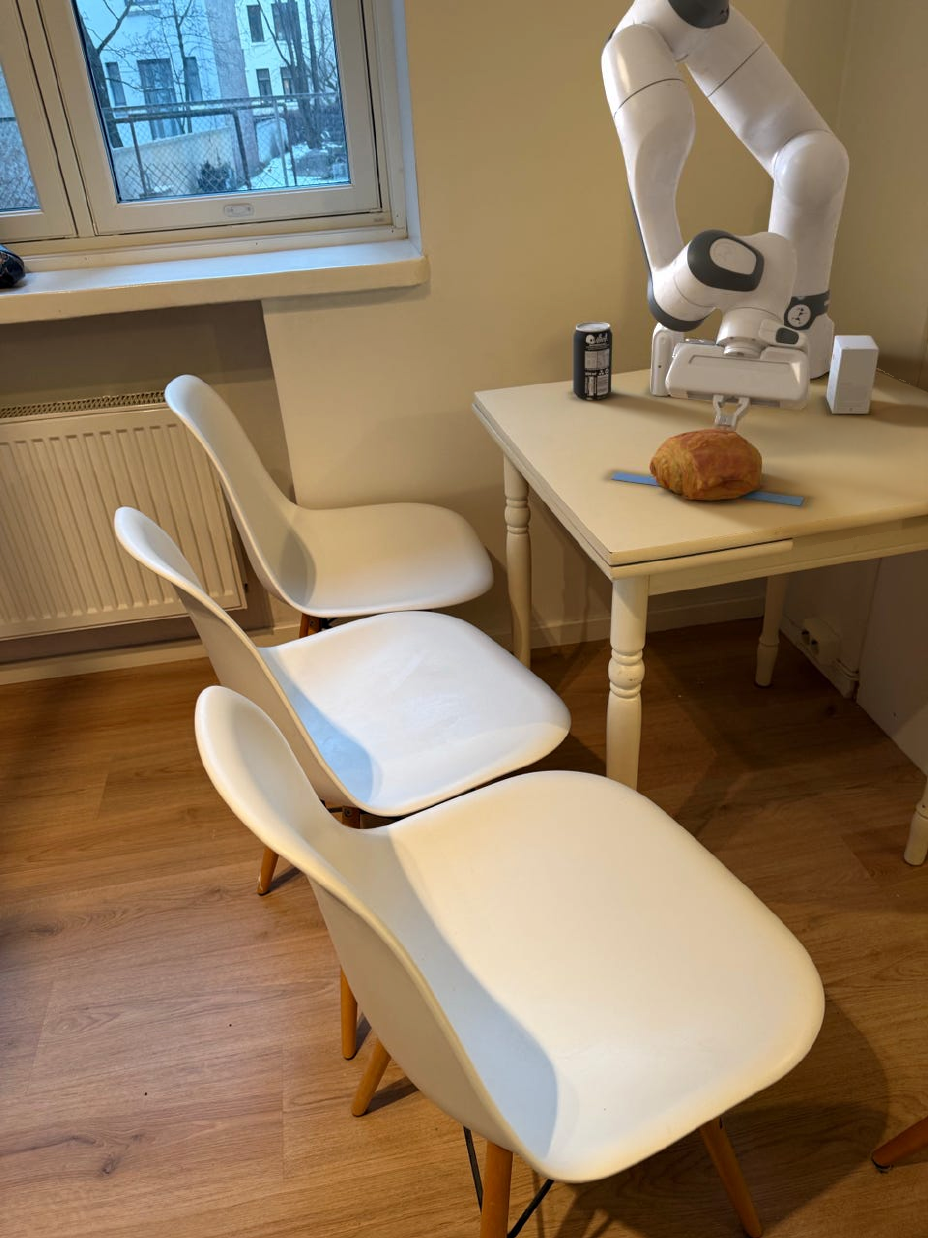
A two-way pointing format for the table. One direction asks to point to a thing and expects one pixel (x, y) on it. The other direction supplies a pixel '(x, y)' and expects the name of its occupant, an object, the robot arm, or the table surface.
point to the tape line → (750, 495)
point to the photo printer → (662, 357)
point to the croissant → (708, 465)
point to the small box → (852, 374)
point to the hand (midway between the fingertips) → (724, 428)
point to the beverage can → (592, 360)
